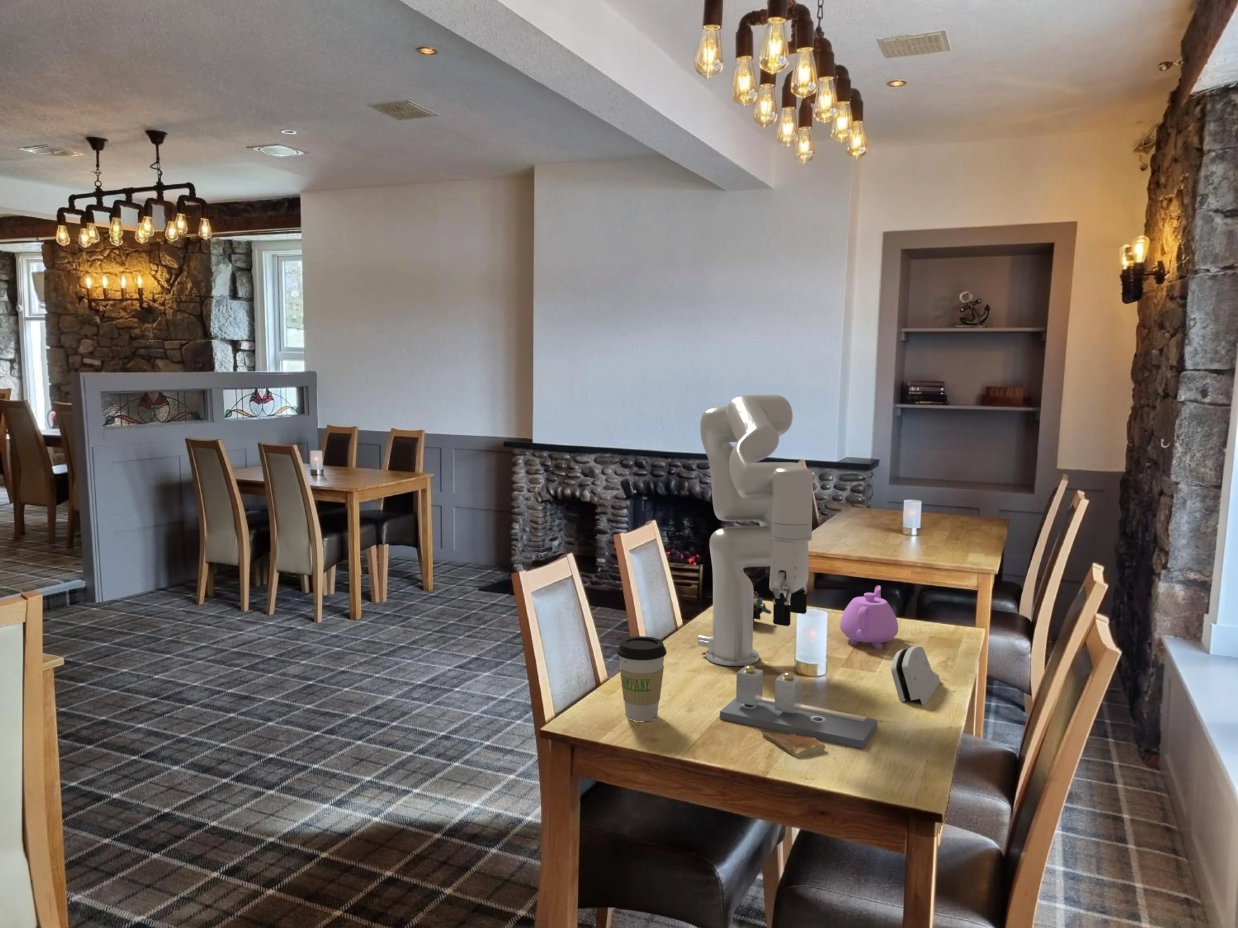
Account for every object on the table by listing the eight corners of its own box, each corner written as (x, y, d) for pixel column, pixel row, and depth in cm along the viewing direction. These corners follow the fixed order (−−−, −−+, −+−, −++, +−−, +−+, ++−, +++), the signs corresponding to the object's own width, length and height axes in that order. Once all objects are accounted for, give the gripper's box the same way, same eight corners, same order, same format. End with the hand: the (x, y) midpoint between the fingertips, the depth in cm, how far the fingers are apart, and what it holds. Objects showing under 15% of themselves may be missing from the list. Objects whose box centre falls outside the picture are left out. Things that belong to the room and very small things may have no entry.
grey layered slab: (924, 705, 179) (908, 658, 180) (901, 709, 182) (886, 662, 182) (941, 681, 193) (926, 637, 194) (919, 684, 196) (905, 641, 197)
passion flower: (750, 640, 241) (777, 606, 240) (742, 644, 231) (770, 609, 229) (719, 613, 245) (745, 580, 243) (709, 616, 235) (737, 581, 233)
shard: (760, 737, 165) (760, 728, 165) (794, 730, 168) (794, 721, 168) (795, 761, 155) (795, 751, 155) (830, 753, 158) (830, 743, 158)
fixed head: (736, 704, 175) (736, 667, 174) (743, 698, 178) (744, 662, 177) (755, 708, 173) (755, 671, 172) (762, 702, 176) (762, 665, 175)
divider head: (774, 712, 171) (775, 674, 170) (781, 705, 174) (782, 668, 173) (794, 716, 169) (795, 678, 168) (800, 709, 172) (801, 672, 171)
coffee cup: (609, 711, 177) (609, 638, 175) (653, 703, 180) (653, 632, 179) (629, 729, 168) (629, 653, 166) (674, 721, 171) (675, 646, 170)
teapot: (851, 626, 235) (852, 581, 234) (906, 634, 228) (907, 587, 227) (830, 647, 218) (832, 598, 216) (889, 656, 211) (890, 605, 209)
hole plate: (719, 718, 173) (719, 708, 172) (740, 700, 182) (740, 691, 182) (862, 748, 159) (862, 737, 159) (877, 727, 168) (877, 717, 168)
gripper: (787, 523, 177) (786, 606, 179) (757, 536, 162) (755, 627, 164) (824, 526, 173) (822, 610, 175) (796, 540, 158) (794, 632, 160)
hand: (790, 618), depth 169 cm, fingers open, 9 cm apart
